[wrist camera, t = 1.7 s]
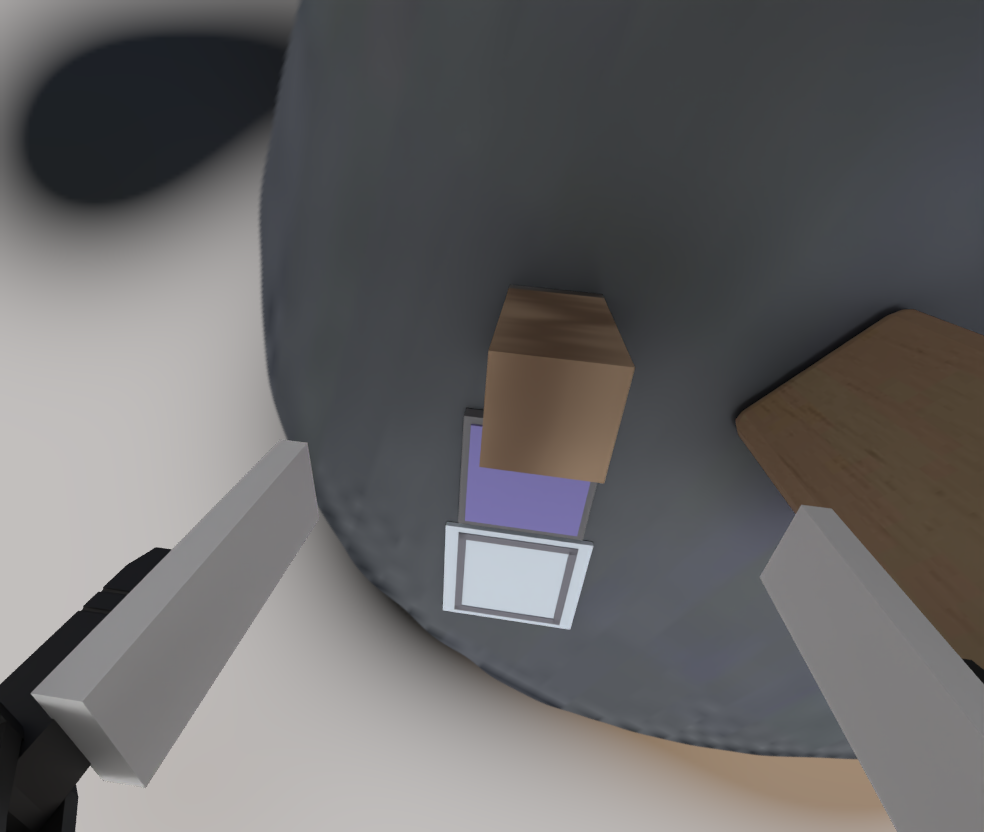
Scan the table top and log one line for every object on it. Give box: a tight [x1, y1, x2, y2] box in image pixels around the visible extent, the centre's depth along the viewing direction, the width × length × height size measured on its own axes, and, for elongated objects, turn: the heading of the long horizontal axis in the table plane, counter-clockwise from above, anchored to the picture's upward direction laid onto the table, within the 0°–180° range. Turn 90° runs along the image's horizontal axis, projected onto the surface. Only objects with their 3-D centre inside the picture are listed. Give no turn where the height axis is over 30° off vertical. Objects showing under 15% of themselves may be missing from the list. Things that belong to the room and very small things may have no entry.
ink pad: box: [458, 408, 597, 540], centre depth 29 cm, size 9×9×1 cm
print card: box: [443, 522, 593, 629], centre depth 35 cm, size 11×10×1 cm
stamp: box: [479, 284, 635, 483], centre depth 20 cm, size 5×5×10 cm
